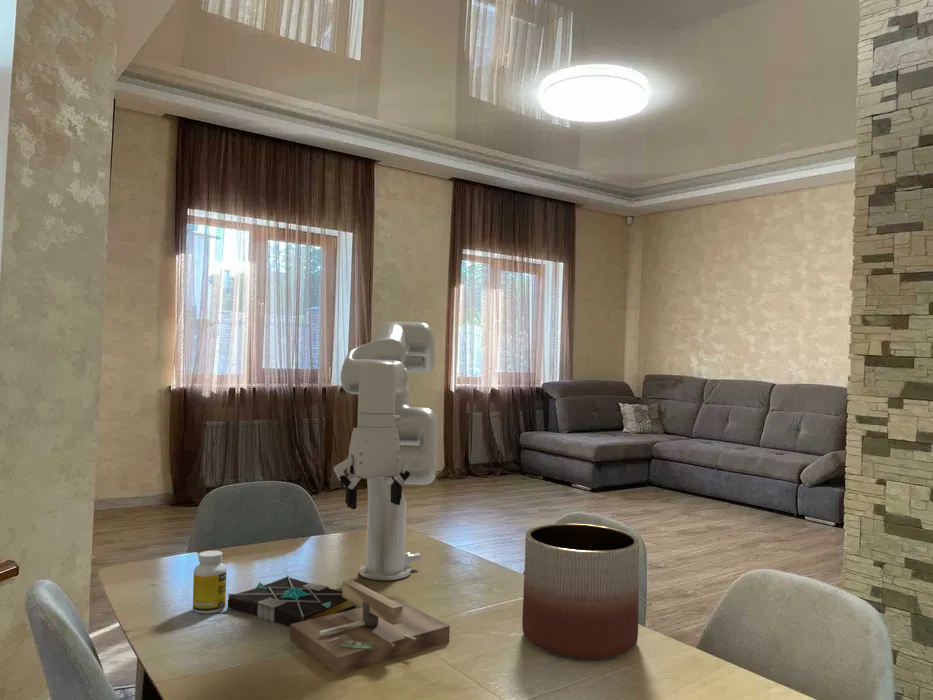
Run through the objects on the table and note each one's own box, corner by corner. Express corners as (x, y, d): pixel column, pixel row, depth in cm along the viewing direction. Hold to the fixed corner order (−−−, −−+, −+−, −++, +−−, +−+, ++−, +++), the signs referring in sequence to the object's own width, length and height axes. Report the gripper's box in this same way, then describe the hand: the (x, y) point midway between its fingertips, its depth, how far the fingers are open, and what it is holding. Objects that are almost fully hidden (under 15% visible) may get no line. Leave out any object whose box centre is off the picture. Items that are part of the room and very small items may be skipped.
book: (226, 611, 149) (227, 587, 149) (286, 590, 163) (287, 568, 163) (301, 635, 137) (302, 609, 137) (359, 610, 152) (359, 586, 152)
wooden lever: (352, 607, 142) (353, 579, 142) (404, 636, 129) (404, 605, 129) (297, 620, 135) (298, 590, 135) (345, 653, 121) (346, 619, 121)
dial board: (396, 613, 149) (396, 598, 149) (455, 644, 134) (455, 627, 134) (289, 640, 134) (290, 623, 134) (342, 679, 119) (343, 659, 119)
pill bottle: (215, 616, 145) (216, 558, 145) (186, 613, 146) (187, 556, 146) (231, 605, 151) (232, 550, 151) (203, 603, 152) (205, 548, 152)
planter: (568, 610, 153) (570, 517, 154) (659, 642, 138) (662, 538, 138) (498, 637, 138) (501, 533, 138) (592, 676, 122) (595, 559, 122)
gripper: (405, 419, 153) (403, 499, 152) (329, 420, 144) (326, 506, 143) (422, 422, 146) (420, 505, 146) (343, 424, 137) (340, 513, 137)
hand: (373, 505), depth 145 cm, fingers open, 9 cm apart
